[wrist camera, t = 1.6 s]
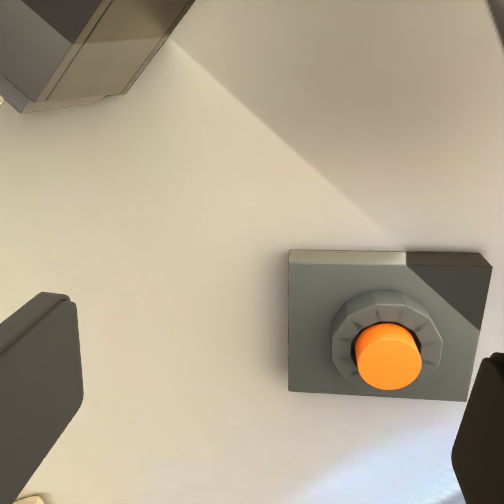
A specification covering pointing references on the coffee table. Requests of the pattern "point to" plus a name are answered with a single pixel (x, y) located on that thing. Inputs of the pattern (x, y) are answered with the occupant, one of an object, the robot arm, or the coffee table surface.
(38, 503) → the shape sorter
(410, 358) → the button
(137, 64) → the drawer box
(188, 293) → the coffee table surface
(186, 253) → the coffee table surface
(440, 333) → the control block
